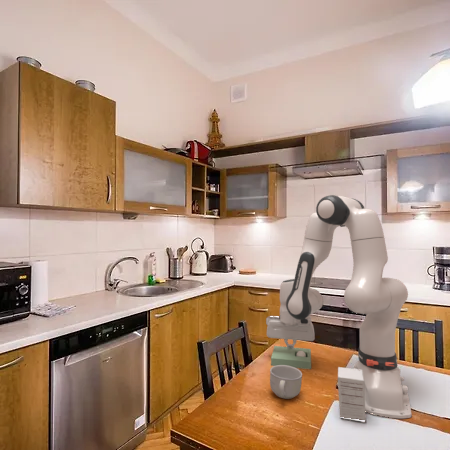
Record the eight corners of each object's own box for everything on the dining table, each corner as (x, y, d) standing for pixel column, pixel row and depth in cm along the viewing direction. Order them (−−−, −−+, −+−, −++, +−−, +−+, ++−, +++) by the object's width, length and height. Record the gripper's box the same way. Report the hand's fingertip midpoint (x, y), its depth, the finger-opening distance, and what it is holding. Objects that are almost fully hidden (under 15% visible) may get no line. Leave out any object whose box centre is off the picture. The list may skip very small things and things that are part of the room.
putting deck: (311, 369, 129) (311, 361, 129) (271, 365, 133) (271, 358, 133) (310, 355, 142) (310, 348, 142) (274, 352, 146) (274, 345, 146)
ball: (306, 353, 134) (296, 352, 135) (305, 363, 134) (295, 361, 135) (306, 350, 138) (297, 348, 139) (305, 359, 138) (296, 357, 139)
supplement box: (339, 405, 103) (337, 366, 103) (364, 409, 100) (363, 369, 100) (339, 419, 96) (337, 376, 96) (366, 423, 93) (364, 380, 93)
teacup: (277, 383, 118) (276, 361, 118) (306, 391, 112) (306, 368, 112) (261, 401, 106) (261, 377, 106) (293, 411, 100) (292, 385, 100)
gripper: (265, 317, 138) (265, 349, 138) (314, 320, 132) (314, 354, 132) (266, 313, 144) (267, 344, 144) (314, 316, 138) (314, 348, 138)
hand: (290, 349), depth 138 cm, fingers closed
